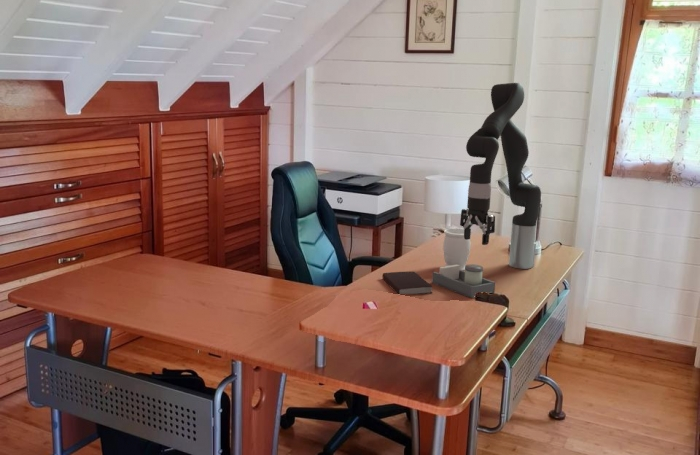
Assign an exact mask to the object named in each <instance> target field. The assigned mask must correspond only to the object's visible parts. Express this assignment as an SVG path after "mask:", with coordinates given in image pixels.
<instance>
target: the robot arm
mask: <svg viewBox="0 0 700 455" xmlns="http://www.w3.org/2000/svg"><path fill="white" fill-rule="evenodd" d="M490 99H491V104H492V108H493V112H492V113H489V115H488V116H487V117H486V118H485V120H484V122H483V123H482V125H481V127H480V128H479V129H477V130H476V131H475V132H474V133H473V134H472V135H471V136H469V137H468V140H467V142H466V146H465V148H466V150H465V151H466V152H467V155H469V156H470V157H472V158H481V159H482V158H484V159H485V160H484V162H483V163H477V164H473V165H471V166H470V172H469V183H468V184H469V185H468V190H467V203H466V204H467V205H466V206H467V208H462V209H461V211H460V220H459V225H460V227H463V229H464V239H466V240H468V239H470V240H471V236H472V226H473V225H475V226H478V227H479V229H481V231H482V233H483V234H482V236H481V237H482V240H481V245H483V246H487V245H488V244H489V242H490V234H495V231H496V216H495V215H489V213H488V212H489V211H490V209H491V208H490V207H491V195H492V186H491V184H492V183H491V182H492V172H493V171H492V170H493V168H494V165H495V160H496V158H497V155H498V153H499V149H500V144H499V141H498V140H499V139H500V140H501V147H502V151H503V152H502V153H503V157H504V161H505V167H506V172H507V182H508V192H509V197H510V201H511V203H512V204H513V205H514V206H517V207H521V208H522V207H523V208H524V212H523V213H520V214H516V215H514V216H512V222H511V235H510V246H509V247H510V248H509V255H508V256H509V259H508V266H509V267H511V268H514V269H521V270H525V269H526V270H527V269H531V268H533V267H534V266H535V258H536V248H537V243H536V241H535V240H536V232H537V230H536V228H537V222H538V221H537V220H538V218H539V213H540V206H541V201H542V200H541V199H542V190H541V188H540V187H539V186H538V185H536V184H532V183H526V182H525V183H524V181H523V178H522V177H523V176H522V171H523V168H524V167H525V165H526V163H527V160H528V158H529V154H530V152H529V151H530V150H529V147H528V140H527V137H526V135H525V133H524V132H523V131H522V130H521V129H520V127H519V126H517V124H515V122H514V121H513V120H512V118H513V116H515V114H516V113H517V112H518V111H519V109H520V108H521V107H522V105H523V103H524V100H525V90H524V86H523V85H522V84H521V83H519V82H509V83H497V84H494V85H493V86H492V87H491V90H490Z"/></svg>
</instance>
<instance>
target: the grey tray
mask: <svg viewBox="0 0 700 455" xmlns="http://www.w3.org/2000/svg"><path fill="white" fill-rule="evenodd" d="M431 278H432V279H431V281H432V282H431V283H432V284H434V285H437V286H439V287H441V288H444V289H447V290H449V291H451V292H454V293H457V294H460V295H462V296H464V297H467V298H469V299H474V298H475V297H474V296H475V293H477V292H487V293H493V294H495V288H496V282H495V281H493V280H490V279H488V278H485V277H482V284H481V285H476V286H471V285H468V284H466V283H464V279H465V270H463V271H462V270H459V279H453V278H450V277H447V276H445V275H442V274H439V272H436V271H433V272H432V277H431Z"/></svg>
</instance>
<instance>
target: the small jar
mask: <svg viewBox="0 0 700 455" xmlns="http://www.w3.org/2000/svg"><path fill="white" fill-rule="evenodd" d="M464 271H465V279H464V283H466V284H468V285H471V286H476V285H481V284H482V278H483V271H484V266H482V265H479V264H465V270H464Z"/></svg>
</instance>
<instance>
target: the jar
mask: <svg viewBox="0 0 700 455" xmlns="http://www.w3.org/2000/svg"><path fill="white" fill-rule="evenodd" d="M443 232H444V238H443V246H442V247H443V248H442V250H443V251H442V252H443V259H444V262H445V265H444V267H445V266H451V265H460V270H462V271H465V266H466V265H467V262H468V259H469V256H470V253H471V251H470V250H471V238H470V239H468V240H466V239H464V228H447V229H444V231H443Z"/></svg>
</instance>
